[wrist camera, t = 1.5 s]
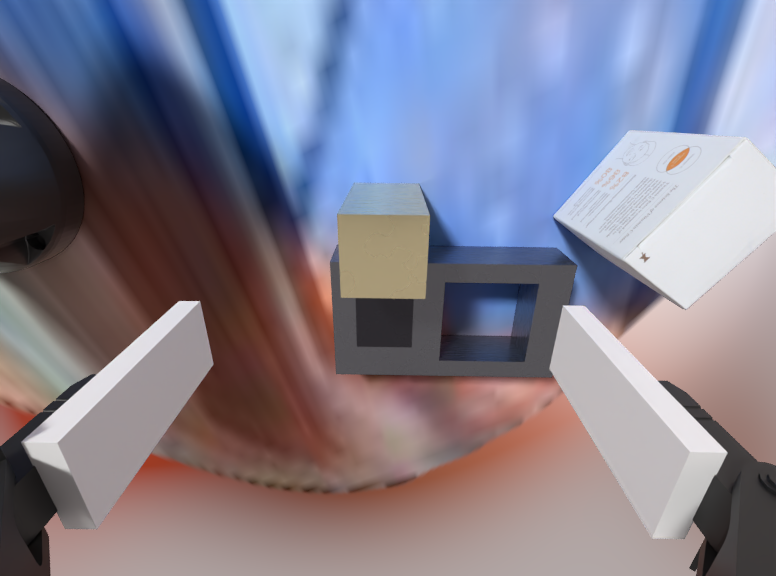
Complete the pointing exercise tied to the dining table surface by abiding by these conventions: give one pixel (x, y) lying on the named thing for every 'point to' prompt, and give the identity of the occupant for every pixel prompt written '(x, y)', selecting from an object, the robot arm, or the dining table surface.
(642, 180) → the small box
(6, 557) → the robot arm
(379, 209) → the beige square peg
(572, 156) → the dining table surface
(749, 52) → the dining table surface
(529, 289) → the grey square hole block
